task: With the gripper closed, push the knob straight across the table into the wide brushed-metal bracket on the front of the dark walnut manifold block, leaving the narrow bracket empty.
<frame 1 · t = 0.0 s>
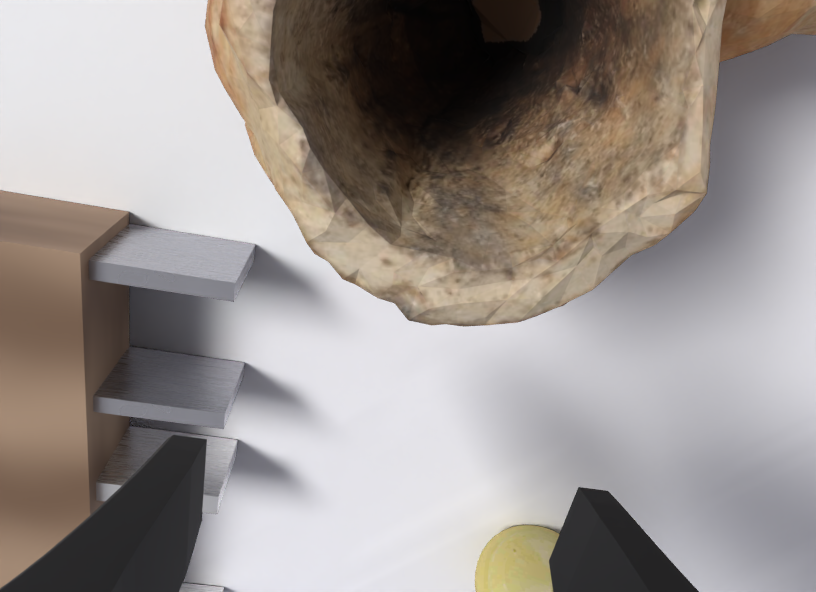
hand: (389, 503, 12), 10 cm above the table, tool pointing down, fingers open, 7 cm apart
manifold: (60, 427, 23), on the table
knob: (519, 553, 27), on the table
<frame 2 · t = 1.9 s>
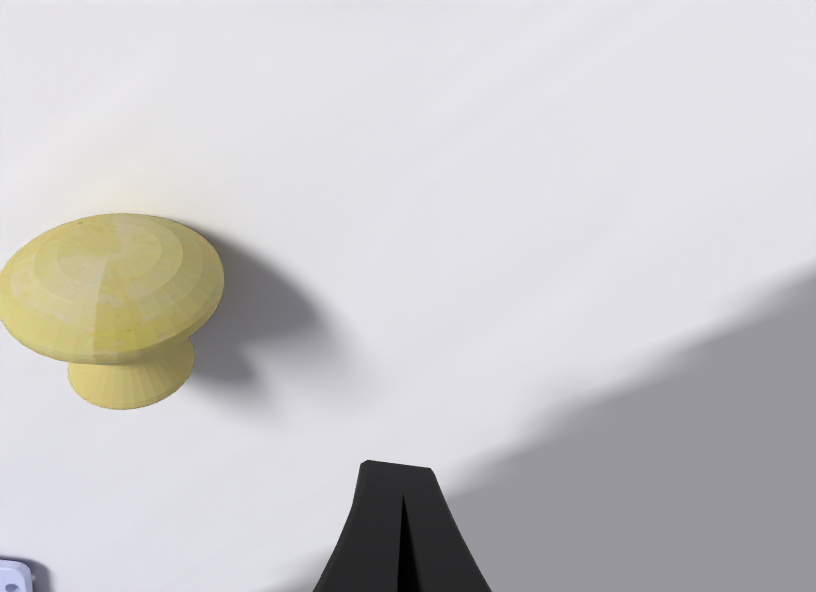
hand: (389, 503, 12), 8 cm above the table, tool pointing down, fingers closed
knob: (153, 277, 18), on the table
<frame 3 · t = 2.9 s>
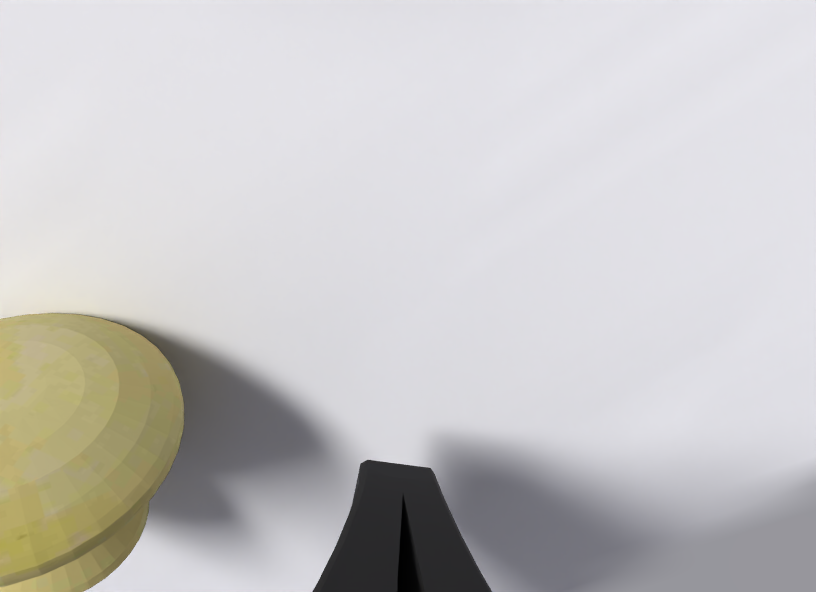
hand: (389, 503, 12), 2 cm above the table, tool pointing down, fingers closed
knob: (92, 391, 13), on the table
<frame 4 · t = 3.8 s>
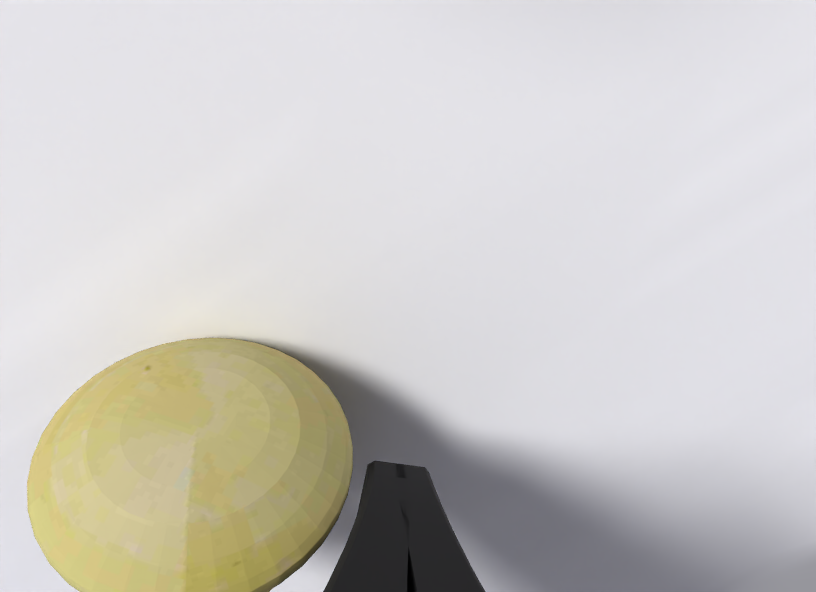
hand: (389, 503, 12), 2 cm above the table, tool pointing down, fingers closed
knob: (234, 412, 13), on the table, touching gripper
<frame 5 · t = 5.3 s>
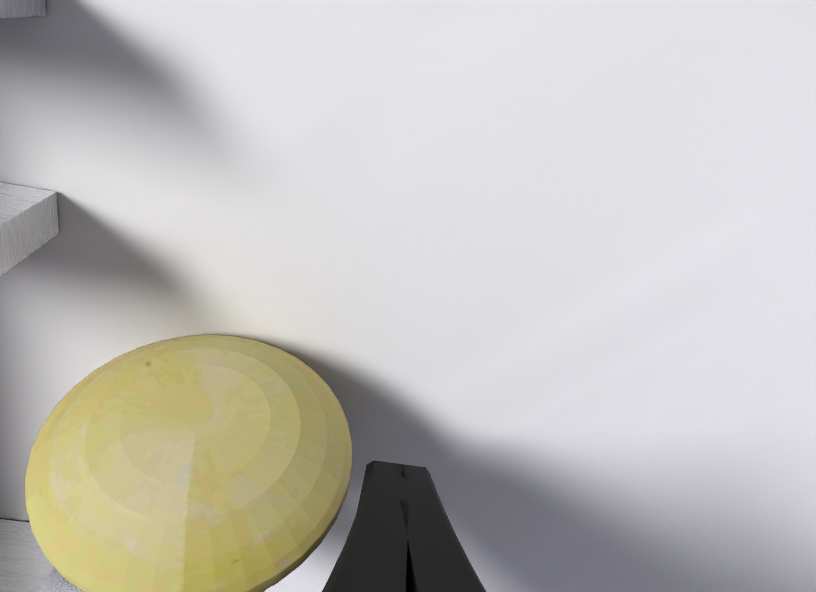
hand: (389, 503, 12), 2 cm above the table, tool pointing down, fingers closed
knob: (232, 409, 13), on the table, touching gripper
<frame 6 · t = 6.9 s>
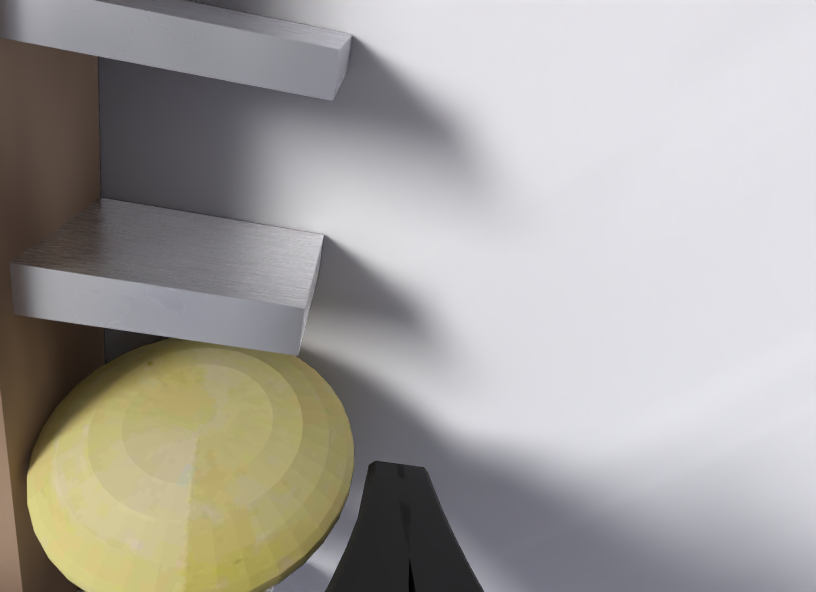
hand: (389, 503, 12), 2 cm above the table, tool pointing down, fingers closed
knob: (233, 409, 13), on the table, touching gripper, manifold
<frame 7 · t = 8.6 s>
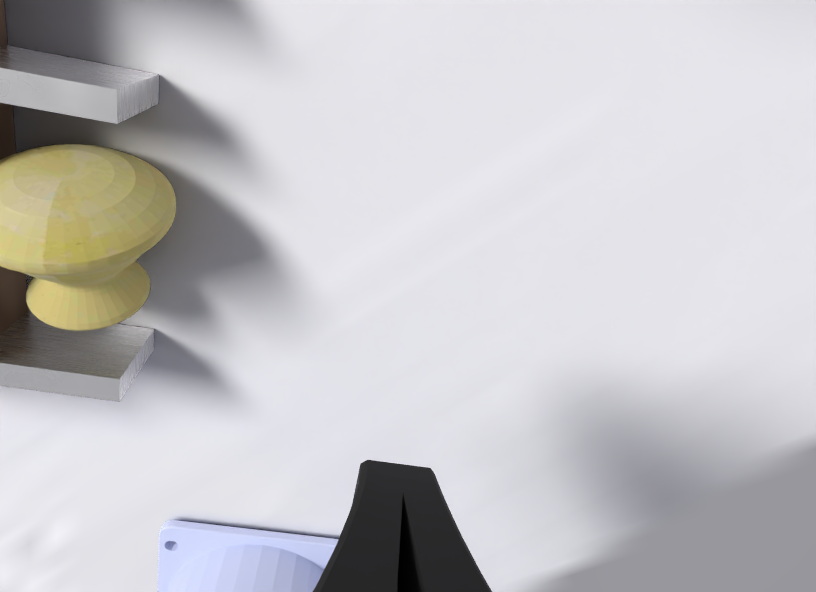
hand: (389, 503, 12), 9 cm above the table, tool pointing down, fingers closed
knob: (113, 211, 19), on the table
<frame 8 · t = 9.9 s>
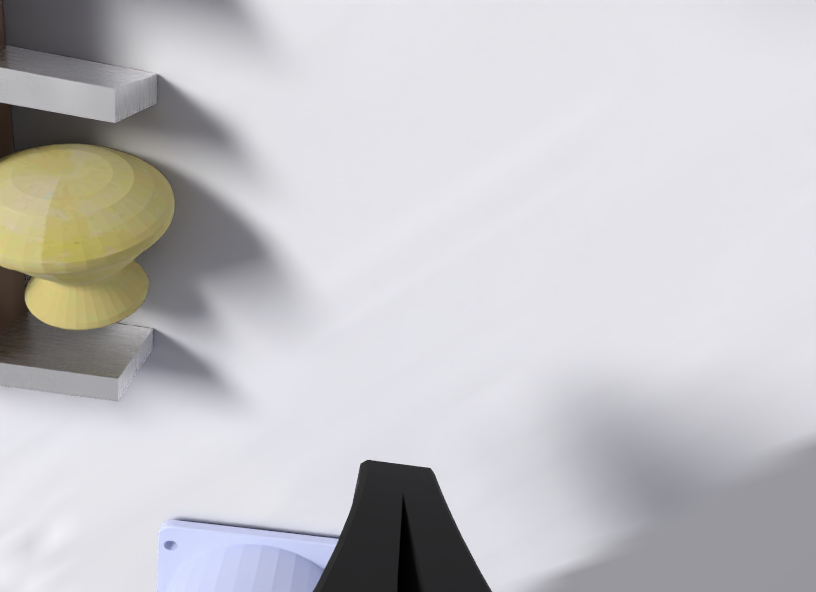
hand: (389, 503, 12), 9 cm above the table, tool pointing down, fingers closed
knob: (111, 211, 19), on the table
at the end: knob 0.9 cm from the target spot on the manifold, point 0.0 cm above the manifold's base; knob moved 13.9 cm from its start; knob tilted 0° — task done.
